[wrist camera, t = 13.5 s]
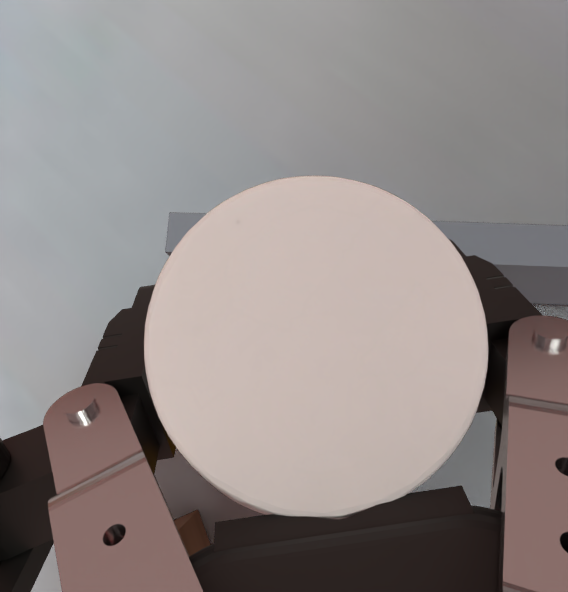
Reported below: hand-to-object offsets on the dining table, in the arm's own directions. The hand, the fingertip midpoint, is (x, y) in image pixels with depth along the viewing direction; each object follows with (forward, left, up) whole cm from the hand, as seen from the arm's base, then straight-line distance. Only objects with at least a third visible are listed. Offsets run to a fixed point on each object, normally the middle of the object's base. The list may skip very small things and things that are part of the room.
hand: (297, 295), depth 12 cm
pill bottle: (+2, 0, -6) cm, 6 cm away
